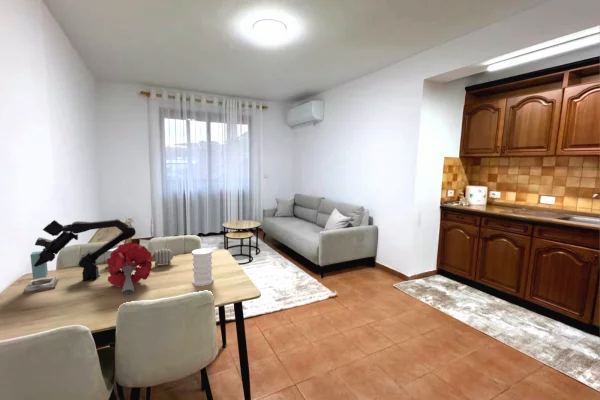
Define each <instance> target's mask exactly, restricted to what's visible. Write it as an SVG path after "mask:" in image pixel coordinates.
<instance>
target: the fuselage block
mask: <svg viewBox="0 0 600 400" xmlns="http://www.w3.org/2000/svg"><path fill="white" fill-rule="evenodd" d="M42 251H43V250H39V251H38V250H37V251H32V252H31V254H30V256H29V257H30V263H31V272H32V273H31V274H32V279H33V280H38V279H45V278H47V276H48V274H49V270H48V262H46V263H44V264H41V265H39V266H37V267H35V266H34V265H35V263H36V262H37V261H38V259H39V258H40V255H39V254H40V253H41V252H42Z"/></svg>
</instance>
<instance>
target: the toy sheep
mask: <svg viewBox="0 0 600 400" xmlns="http://www.w3.org/2000/svg"><path fill="white" fill-rule="evenodd" d="M178 255H179V254H178V253H174V252H173V251H172V250H171V249H170V248H160V249H157V250H154V252H153V253H151V257H152V262H151V263H154V265H155V267H156V268H159V265H162V266H164V265H167V264H168V266H171V265H172V262H171V261H172V260H173V258H174V257H177V256H178ZM170 264H171V265H170Z"/></svg>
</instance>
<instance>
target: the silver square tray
mask: <svg viewBox="0 0 600 400" xmlns="http://www.w3.org/2000/svg"><path fill="white" fill-rule="evenodd" d="M57 282H58V283H59V279H58V278H57V277H56V276H53V277H44V278H38V279H33V280H29V282H28V283H27V284H26V286H25V288H24V290H23V292H22V294H23V295H24V294H31V293H35V292H36V293H37V292H43V291H48V290H53V289H54V290H55V289H56V287H57V285H58V283H57Z"/></svg>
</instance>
